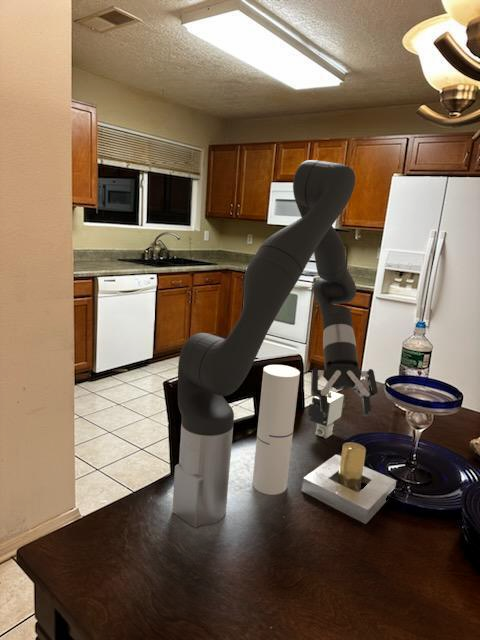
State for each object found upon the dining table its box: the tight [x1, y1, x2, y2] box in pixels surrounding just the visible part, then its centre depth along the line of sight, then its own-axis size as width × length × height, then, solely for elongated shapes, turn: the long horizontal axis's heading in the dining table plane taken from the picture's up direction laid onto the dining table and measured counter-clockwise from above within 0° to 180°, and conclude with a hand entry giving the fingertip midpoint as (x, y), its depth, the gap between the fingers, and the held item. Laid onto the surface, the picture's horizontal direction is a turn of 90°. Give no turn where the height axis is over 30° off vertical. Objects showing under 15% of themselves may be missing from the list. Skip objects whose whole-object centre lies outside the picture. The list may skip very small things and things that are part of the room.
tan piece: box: [337, 441, 367, 493], centre depth 90 cm, size 5×5×10 cm
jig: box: [301, 454, 397, 525], centre depth 91 cm, size 14×14×3 cm
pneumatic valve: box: [307, 389, 346, 439], centre depth 115 cm, size 6×12×12 cm, turn 141°
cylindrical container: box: [252, 364, 301, 496], centre depth 89 cm, size 7×7×25 cm
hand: (346, 414), depth 95 cm, fingers open, 8 cm apart
